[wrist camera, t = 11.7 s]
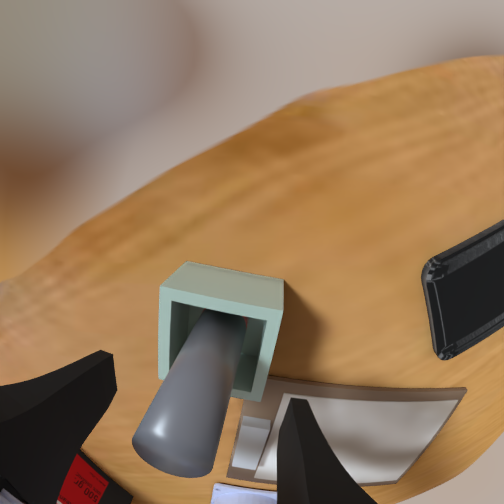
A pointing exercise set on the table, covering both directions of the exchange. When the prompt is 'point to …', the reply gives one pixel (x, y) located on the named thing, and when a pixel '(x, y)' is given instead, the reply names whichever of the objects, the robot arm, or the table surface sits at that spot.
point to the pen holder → (225, 300)
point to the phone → (465, 292)
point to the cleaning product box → (90, 485)
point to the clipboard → (345, 427)
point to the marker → (193, 398)
